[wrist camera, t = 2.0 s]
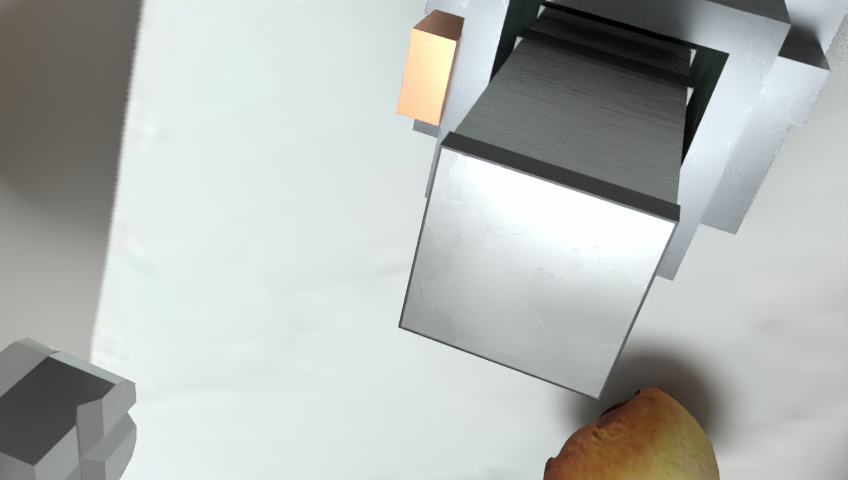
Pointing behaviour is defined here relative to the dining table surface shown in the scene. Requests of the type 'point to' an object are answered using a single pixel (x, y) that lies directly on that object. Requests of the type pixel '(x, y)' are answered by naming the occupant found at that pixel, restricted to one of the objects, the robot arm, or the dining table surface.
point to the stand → (711, 68)
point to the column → (555, 200)
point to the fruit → (638, 444)
